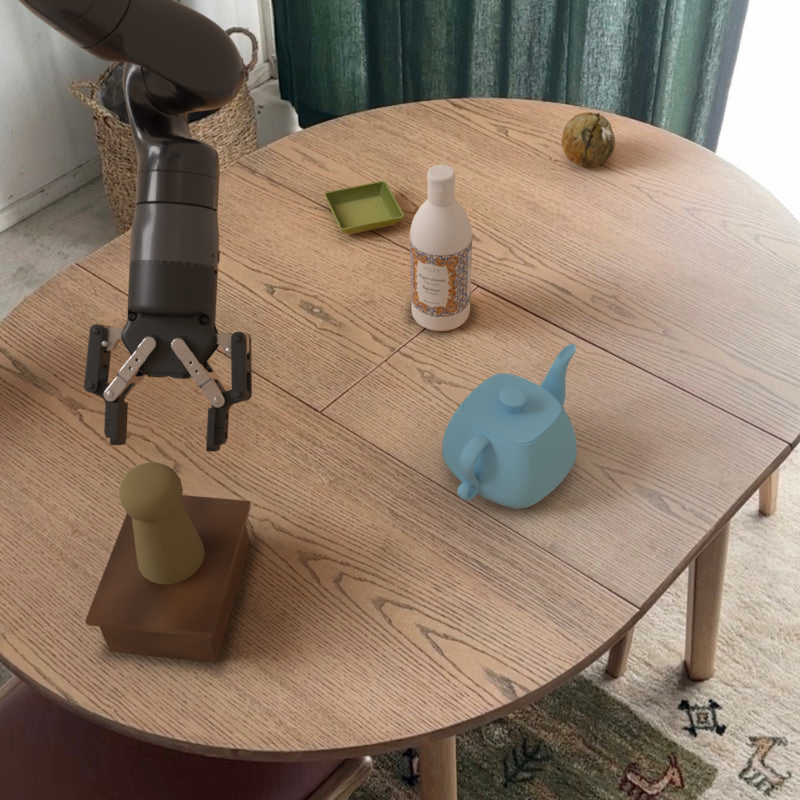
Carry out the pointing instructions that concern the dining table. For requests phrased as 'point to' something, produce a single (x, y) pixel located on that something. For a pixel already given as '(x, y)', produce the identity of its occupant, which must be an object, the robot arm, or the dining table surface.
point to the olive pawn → (160, 524)
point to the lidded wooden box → (175, 589)
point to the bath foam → (440, 256)
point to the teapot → (512, 438)
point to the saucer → (364, 207)
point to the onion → (588, 140)
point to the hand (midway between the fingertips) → (165, 447)
